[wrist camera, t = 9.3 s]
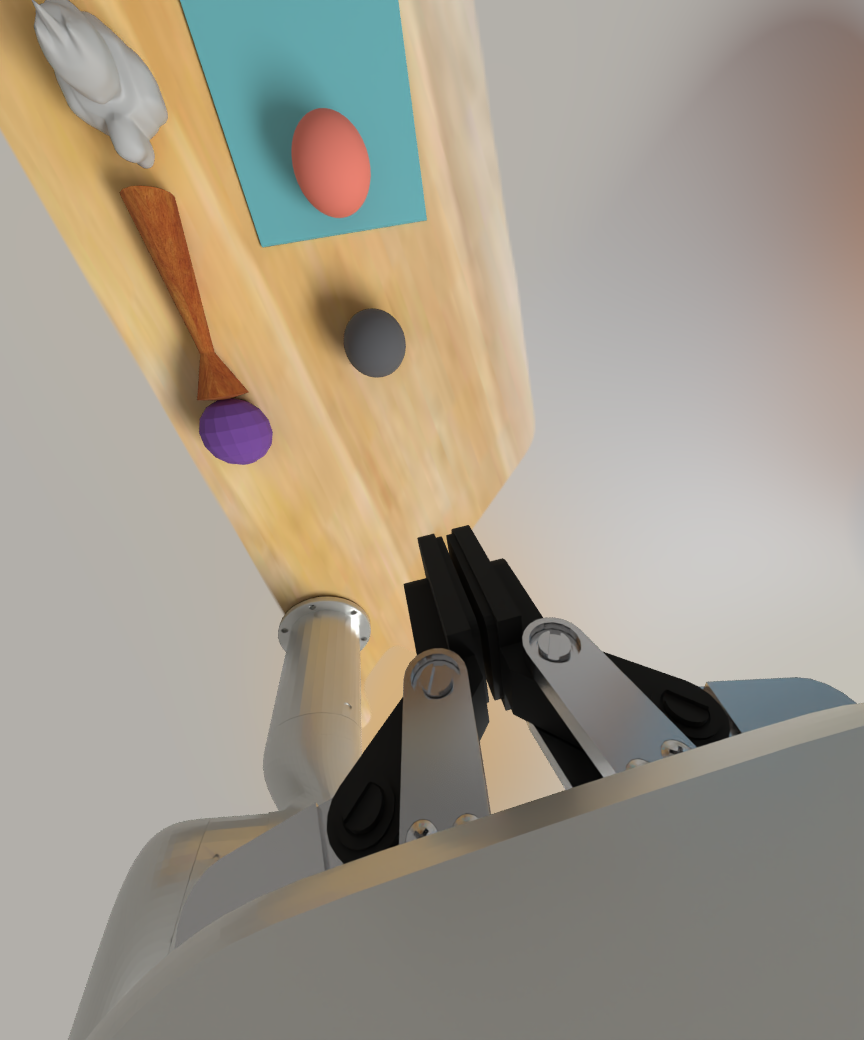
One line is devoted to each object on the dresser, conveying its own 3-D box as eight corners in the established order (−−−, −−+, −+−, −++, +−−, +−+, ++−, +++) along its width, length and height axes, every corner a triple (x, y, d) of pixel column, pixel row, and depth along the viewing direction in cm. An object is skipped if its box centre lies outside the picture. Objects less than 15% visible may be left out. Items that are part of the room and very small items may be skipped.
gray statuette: (150, 40, 22) (59, -90, 15) (198, 177, 26) (140, 121, 19) (60, 44, 22) (-77, -88, 15) (121, 184, 25) (32, 129, 18)
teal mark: (426, 220, 29) (426, 219, 29) (262, 247, 28) (261, 247, 28) (390, -58, 22) (390, -61, 22) (168, -37, 21) (166, -40, 21)
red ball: (372, 144, 22) (355, 79, 23) (286, 156, 21) (271, 89, 22) (381, 230, 27) (366, 175, 28) (312, 241, 27) (300, 185, 28)
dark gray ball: (407, 315, 27) (395, 296, 31) (338, 325, 26) (334, 305, 30) (414, 382, 31) (402, 358, 35) (354, 392, 30) (349, 367, 34)
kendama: (183, 176, 23) (279, 462, 32) (202, 212, 28) (281, 450, 37) (76, 175, 21) (209, 477, 30) (117, 214, 26) (220, 462, 35)
